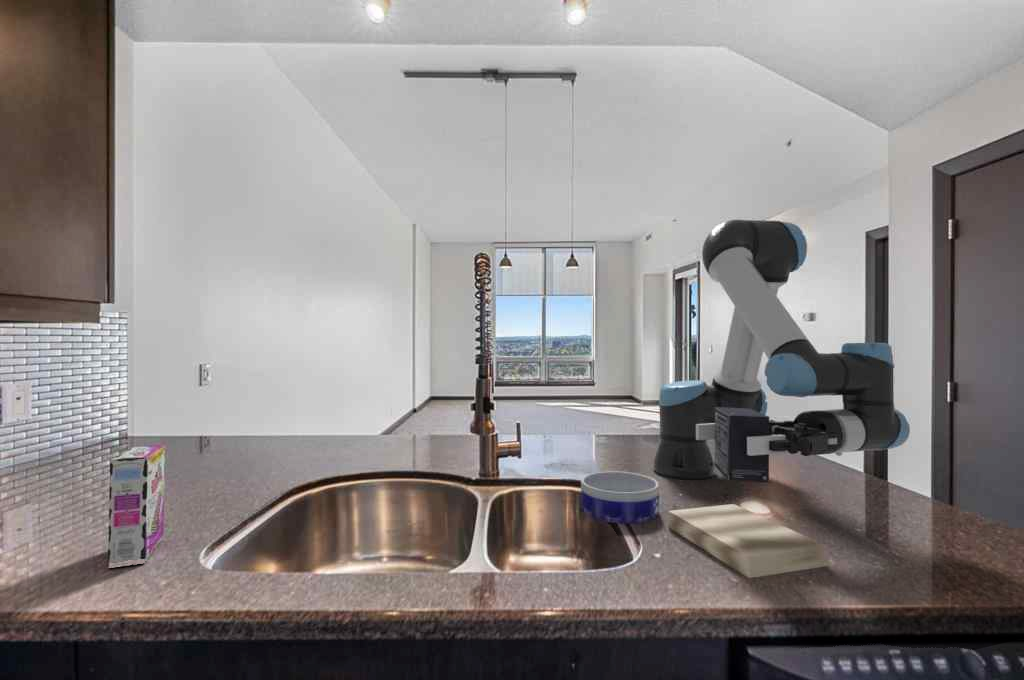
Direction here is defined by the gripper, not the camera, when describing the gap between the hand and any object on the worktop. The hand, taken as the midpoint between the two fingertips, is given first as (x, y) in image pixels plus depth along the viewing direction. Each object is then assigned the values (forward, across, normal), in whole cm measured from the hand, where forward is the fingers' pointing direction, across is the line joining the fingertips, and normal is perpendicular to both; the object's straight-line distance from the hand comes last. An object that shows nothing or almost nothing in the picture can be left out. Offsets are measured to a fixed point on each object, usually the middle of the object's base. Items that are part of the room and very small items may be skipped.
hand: (720, 438), depth 80 cm
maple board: (-4, 0, -18) cm, 18 cm away
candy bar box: (+91, +24, -18) cm, 96 cm away
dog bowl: (+7, +21, -18) cm, 29 cm away
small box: (-4, 0, -6) cm, 7 cm away
